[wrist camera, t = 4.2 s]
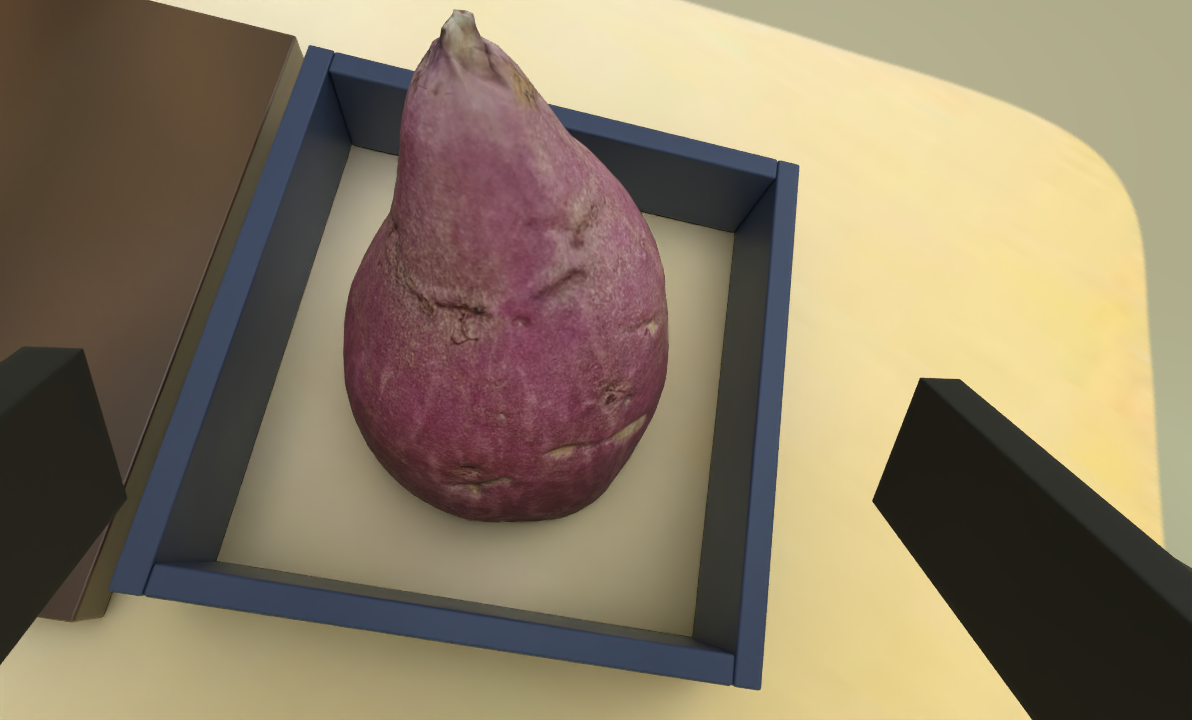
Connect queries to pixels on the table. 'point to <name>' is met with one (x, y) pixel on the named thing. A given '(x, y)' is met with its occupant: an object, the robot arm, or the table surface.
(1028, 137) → the table surface
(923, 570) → the robot arm
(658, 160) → the square frame
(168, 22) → the cutting board
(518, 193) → the vegetable
